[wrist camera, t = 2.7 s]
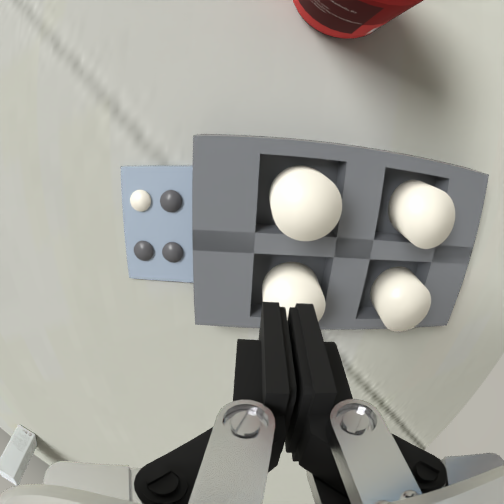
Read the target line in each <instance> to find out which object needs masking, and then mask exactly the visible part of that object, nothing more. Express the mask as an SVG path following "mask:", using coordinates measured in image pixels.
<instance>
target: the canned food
mask: <svg viewBox="0 0 504 504" xmlns="http://www.w3.org/2000/svg"><path fill="white" fill-rule="evenodd" d="M422 1H423V0H293V2H294V4H295V6H296V8H297V10H298V12H299V13H300V15H301V16H302V18H303V19H304V20H305V21H306V22H307V23H308V24H309V25H310V26H312V27H313V28H315V29H316V30H318V31H320V32H322V33H324V34H326V35H329V36H332V37H338V38H358V37H363V36H365V35H368V34H370V33H372V32H373V31H375V30H376V29H378V28H379V27H381V26H382V25H384V24H386V23H387V22H389V21H390V20H392V19H393V18H395V17H397V16H398V15H400V14H402V13H403V12H405V11H406V10H408V9H410V8H411V7H413V6H415V5H417V4H418V3H420V2H422Z"/></svg>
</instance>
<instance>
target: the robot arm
mask: <svg viewBox="0 0 504 504" xmlns="http://www.w3.org/2000/svg"><path fill="white" fill-rule="evenodd" d="M284 442H285V446H286V452H287V453H292V458H293V461H299V465H300V466H302V467H303V468H304V469H306V470H307V478H308V482H309V485H310V488H311V492H312V495H313V498H314V501H315V504H504V460H503V459H502V458H501V457H500V456H499V455H497V454H494V453H486V454H475V455H464V456H450V457H444V459H442V460H440V459H438V458H437V457H435V456H434V455H432V454H430V453H428V452H426V451H424V450H422V449H420V448H418V447H416V446H414V445H412V444H410V443H409V442H407V441H405V440H403V439H401V438H399V437H397V436H395V435H394V434H392V433H391V432H390V430H389V428H388V427H387V425H386V423H385V421H384V419H383V417H382V415H381V414H380V412H379V411H378V410H377V408H376V407H374V406H373V405H372V404H370V403H368V402H366V401H364V400H358V399H353V398H352V394H351V391H350V388H349V384H348V381H347V378H346V374H345V371H344V368H343V365H342V361H341V358H340V355H339V352H338V349H337V346H336V344H335V343H334V342H324V341H323V337H322V334H321V330H320V326H319V323H318V319H317V316H316V312H315V309H314V305H313V304H305V303H296V305H295V307H290V308H289V314H288V320H287V315H286V308H285V307H280V305H279V302H262V310H261V321H260V331H259V340H245V339H238V340H237V353H236V367H235V380H234V394H233V402H230V403H228V404H226V405H225V406H224V407H223V408H221V409H220V411H219V413H218V415H217V417H216V420H215V423H214V426H213V427H212V428H211V429H209V430H207V431H206V432H204V433H202V434H201V435H199V436H197V437H196V438H194V439H192V440H191V441H189V442H187V443H185V444H184V445H182V446H180V447H178V448H177V449H175V450H173V451H171V452H169V453H168V454H166V455H164V456H162V457H160V458H158V459H156V460H154V461H153V462H151V463H149V464H147V465H145V466H144V467H143V468H130V467H129V465H109V464H94V463H82V462H73V461H58V462H55V463H53V464H51V465H50V466H49V467H48V468H47V470H46V473H45V475H44V482H43V484H26V485H17V486H13V487H10V488H8V489H6V490H5V491H3V492H2V493H1V494H0V504H262V503H263V498H264V492H265V486H266V480H267V474H268V472H270V471H271V470H272V469H273V468H274V467H276V466H277V465H278V461H279V458H280V454H281V452H282V449H283V446H284Z"/></svg>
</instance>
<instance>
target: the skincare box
mask: <svg viewBox="0 0 504 504" xmlns="http://www.w3.org/2000/svg"><path fill="white" fill-rule="evenodd" d="M36 447H37V441H36V436H35V434H34V433H32V432H31V431H29V430H27V429H26V428H24V427H23V426H21V425H18V426H17V428H16V430H15V431H14V433H13V435H12V437H11V439H10V441H9V442H8V444H7V447H6V448H5V450H4V452H3V454H2V456H1V458H0V474H1V476H3V477H4V478H6V479H7V480H9V481H10V482H12V483H13V484H15V485H16V486H17V485H19V483H20V481H21V479H22V477H23V474H24V472H25V470H26V468H27V465H28V463H29V461H30V459H31V457H32V455H33V453H34V451H35V449H36Z"/></svg>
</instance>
